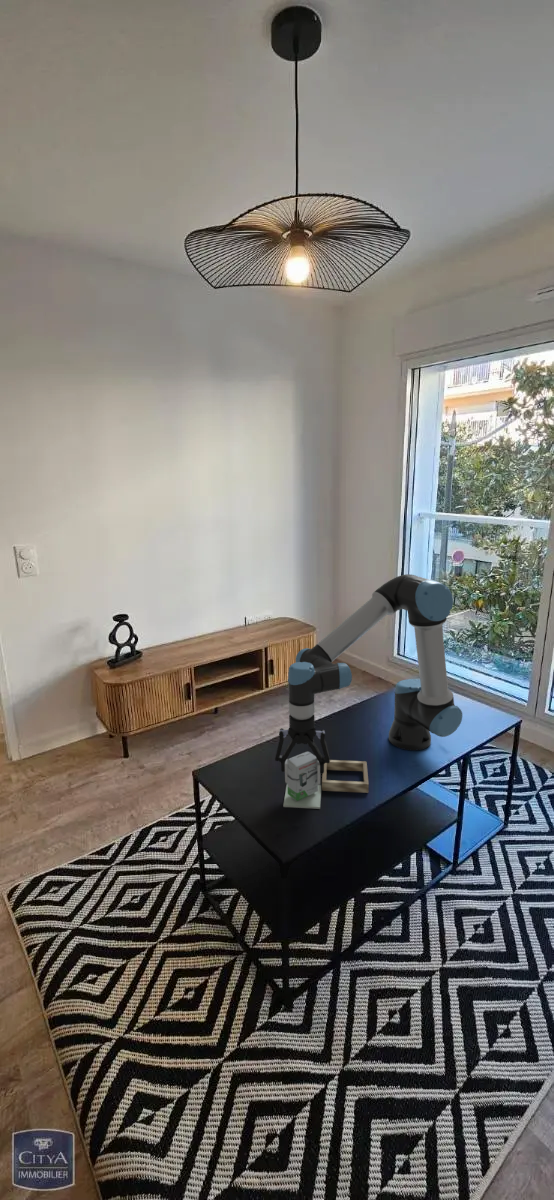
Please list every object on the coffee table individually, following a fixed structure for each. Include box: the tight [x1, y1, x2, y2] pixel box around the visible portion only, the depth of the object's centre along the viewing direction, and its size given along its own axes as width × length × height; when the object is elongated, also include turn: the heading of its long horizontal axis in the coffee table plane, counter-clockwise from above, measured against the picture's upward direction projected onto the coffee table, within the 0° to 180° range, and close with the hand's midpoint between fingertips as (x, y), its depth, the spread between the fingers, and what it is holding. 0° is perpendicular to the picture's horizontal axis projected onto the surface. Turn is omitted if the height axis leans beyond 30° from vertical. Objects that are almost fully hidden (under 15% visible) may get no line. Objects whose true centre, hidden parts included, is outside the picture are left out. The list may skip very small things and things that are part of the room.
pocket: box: [321, 759, 370, 794], centre depth 166 cm, size 14×13×3 cm
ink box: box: [287, 751, 319, 801], centre depth 157 cm, size 9×5×12 cm, turn 126°
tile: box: [282, 783, 322, 810], centre depth 159 cm, size 11×11×1 cm
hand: (302, 781), depth 157 cm, fingers closed on ink box, 9 cm apart
